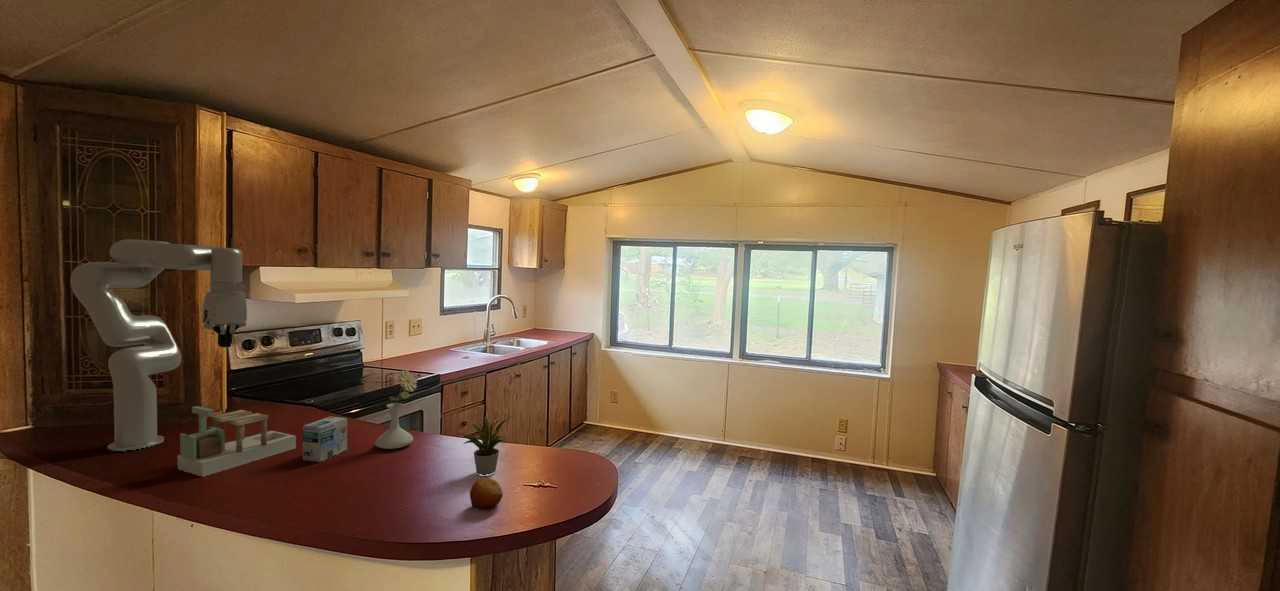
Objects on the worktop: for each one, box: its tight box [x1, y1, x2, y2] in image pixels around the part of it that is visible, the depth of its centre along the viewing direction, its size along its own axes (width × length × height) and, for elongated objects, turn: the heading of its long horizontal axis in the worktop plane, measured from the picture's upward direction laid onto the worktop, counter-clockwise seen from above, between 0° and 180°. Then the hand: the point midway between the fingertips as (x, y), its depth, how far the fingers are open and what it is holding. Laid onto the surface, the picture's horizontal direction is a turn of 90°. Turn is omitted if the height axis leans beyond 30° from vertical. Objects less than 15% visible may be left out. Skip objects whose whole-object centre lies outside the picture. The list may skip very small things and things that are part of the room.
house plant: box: [459, 416, 511, 475], centre depth 143 cm, size 14×14×16 cm
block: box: [196, 434, 221, 459], centre depth 140 cm, size 5×5×5 cm
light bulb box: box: [302, 415, 348, 463], centre depth 152 cm, size 11×7×11 cm, turn 168°
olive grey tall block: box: [179, 405, 226, 460], centre depth 139 cm, size 8×7×13 cm
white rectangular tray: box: [177, 430, 297, 478], centre depth 148 cm, size 12×25×4 cm, turn 158°
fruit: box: [469, 477, 503, 511], centre depth 122 cm, size 8×8×8 cm
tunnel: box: [211, 409, 269, 452], centre depth 148 cm, size 13×8×9 cm, turn 68°
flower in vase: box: [374, 369, 418, 450], centre depth 162 cm, size 13×11×25 cm
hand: (224, 346), depth 152 cm, fingers closed
